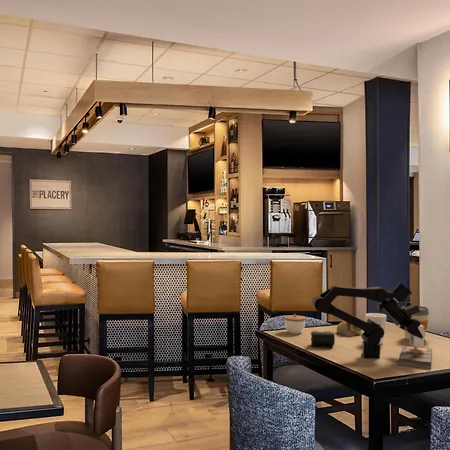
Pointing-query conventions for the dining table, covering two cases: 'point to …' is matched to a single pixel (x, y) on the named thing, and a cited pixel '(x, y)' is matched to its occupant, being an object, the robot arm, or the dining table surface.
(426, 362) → the post board
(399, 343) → the dining table surface
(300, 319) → the lidded jar
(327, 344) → the end cap
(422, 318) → the reusable coffee cup
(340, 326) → the pastry
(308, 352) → the dining table surface
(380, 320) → the foam cup
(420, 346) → the grey upright block
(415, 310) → the robot arm
